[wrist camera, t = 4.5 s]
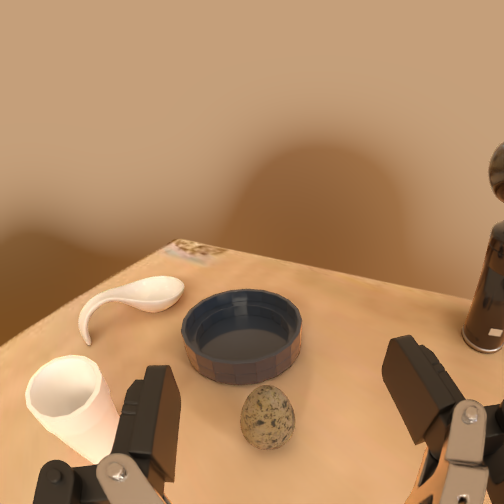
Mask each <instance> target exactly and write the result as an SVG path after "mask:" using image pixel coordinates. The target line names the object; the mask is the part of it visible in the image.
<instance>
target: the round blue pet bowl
mask: <svg viewBox="0 0 504 504" xmlns="http://www.w3.org/2000/svg"><path fill="white" fill-rule="evenodd" d="M181 333H182V337H183V340H184V344H185V348H186V351H187V354H188V357H189V360H190V363H191V364H192V365H193V366H194V367H195V368H196V370H197V371H198V372H199V373H200V374H201V375H204V376H206V377H208V378H210V379H212V380H214V381H216V382H220V383H226V384H232V385H244V384H254V383H259V382H262V381H265V380H268V379H271V378H273V377H276V376H278V375H279V374H280V373H282V372H283V371H285V370H286V369H287V368H289V367H290V366H291V365H292V363H293V362H294V360H295V359H296V357H297V356H298V355H299V352H300V346H301V335H302V319H301V316H300V313H299V310H298V308H297V307H296V306H295V305H294V304H293V303H292V302H291V301H290V300H288V299H286V298H284V297H282V296H281V295H279V294H276V293H272V292H268V291H264V290H255V289H240V290H230V291H226V292H222V293H219V294H215V295H213V296H211V297H208V298H206V299H204V300H202V301H200V302H199V303H198V304H197V305H195V306H194V307H193V308H191V309H190V311H189V312H188V313H187V315H186V316H185V318H184V319H183V323H182V329H181Z"/></svg>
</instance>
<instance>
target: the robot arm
mask: <svg viewBox="0 0 504 504" xmlns="http://www.w3.org/2000/svg"><path fill="white" fill-rule="evenodd" d="M488 178H489V183H490V186H491V189H492V191H493V193H494V194H495V196H496V197H497V198H498V199H499V200H500V201H502V202H503V203H504V142H503V143H501V144H500V145H498V146H497V147H496V149H495V150H494V152H493V154H492V156H491V159H490V162H489V167H488ZM462 336H463V338H464V340H465V341H466V343H467V344H468V345H469V346H471V347H472V348H473V349H475V350H477V351H480V352H483V353H495V352H497V351H499V350H500V349H501V348H502V346H503V344H504V220H503V221H500V222H497V223H496V224H494V225H493V227H492V230H491V234H490V239H489V243H488V248H487V252H486V256H485V260H484V265H483V268H482V272H481V275H480V279H479V282H478V286H477V289H476V292H475V295H474V298H473V301H472V304H471V307H470V310H469V313H468V316H467V318H466V321H465V323H464V325H463V328H462ZM382 377H383V380H384V383H385V385H386V386H387V388H388V390H389V392H390V394H391V396H392V398H393V400H394V402H395V404H396V406H397V408H398V410H399V412H400V414H401V416H402V419H403V421H404V423H405V425H406V427H407V429H408V431H409V433H410V435H411V437H412V439H413V442H414V444H415V445H417V444H420V443H422V442H426V444H427V447H426V449H425V452H424V456H423V459H422V463H421V466H420V469H419V472H418V476H417V479H416V482H415V485H414V487H413V490H412V492H411V494H410V495H409V497H408V498H407V500H406V501H405V503H404V504H483V501H484V497H485V492H486V489H487V492H488V494H489V497H490V500H491V502H492V504H504V400H503V401H502V403H501V404H497V405H491V406H484V407H483V406H482V405H481V404H480V403H479V402H477V401H475V400H470V399H467V400H466V399H465V398H464V396H463V395H462V393H461V392H460V390H459V389H458V387H457V386H456V384H455V383H454V382H453V380H452V379H451V377H450V376H449V374H448V373H447V371H445V369H444V367H443V366H442V364H441V363H439V360H438V359H437V357H436V356H435V354H434V353H433V352H432V351H431V350H429V349H428V348H426V347H425V346H423V345H418V344H417V342H416V341H415V340H414V338H413V337H412V336H411V335H405V336H401V337H397V338H393V339H391V340H390V342H389V345H388V348H387V352H386V355H385V359H384V362H383V365H382ZM180 411H181V397H180V392H179V389H178V387H177V384H176V381H175V379H174V376H173V373H172V370H171V368H170V366H169V365H152V366H148V367H147V369H146V373H145V377H144V380H135V381H134V382H133V384H132V385H131V386H130V387H129V389H128V390H127V393H126V397H125V400H124V405H123V408H122V411H121V412H122V414H121V415H120V419H119V423H118V427H117V431H116V435H115V439H114V443H113V447H112V451H111V453H110V454H109V455H107V456H105V457H104V458H103V459H101V461H100V462H99V463H98V464H96V465H91V466H83V467H73V468H71V467H70V466H69V465H68V464H67V463H65V462H64V461H61V460H52V461H49V462H47V463H46V464H45V465H44V466H43V467H42V468H41V470H40V473H39V478H38V482H37V486H36V491H35V495H34V500H33V504H172V502H171V501H170V500H169V499H168V497H167V496H166V495H165V493H164V482H174V477H175V464H176V452H177V441H178V430H179V420H180Z"/></svg>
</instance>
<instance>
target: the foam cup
mask: <svg viewBox="0 0 504 504" xmlns="http://www.w3.org/2000/svg"><path fill="white" fill-rule="evenodd" d="M110 392H111V391H110V389H109V387H108V385H107V383H106V380H105V378H104V376H103V375H102V373H101V371H100V369H99V367H98V365H97V363H95V362H93V361H92V360H90V359H89V358H87V357H86V356H77V355H67V356H63V357H59V358H55V359H53V360H52V361H50V362H48V363H46V364H45V365H43V366H41V367H40V368H39V369H38V371H37V372H36V373H35V374H34V375H33V376H32V377H31V379H30V381H29V383H28V386H27V389H26V392H25V396H26V404H27V408H28V409H29V410H30V411H31V412H32V414H33V415H34V416H35V417H36V418H37V420H38V421H39V422H40V423H41V424H42V425H43V426H44V427H45V429H46V430H47V431H48V432H51V433H53V434H54V435H56V436H57V437H58V438H59V439H61V440H62V441H63V442H64V443H66V444H67V445H68V446H70V447H71V448H72V449H74V450H75V451H76V452H78V453H79V454H80V455H82V456H83V457H85V458H86V459H87V460H89V461H90V462H92V463H93V464H95V465H96V464H98V463H99V462H100V461H101V459H103V458H104V457H105V456H107V455H109V454H110V453H111V451H112V447H113V443H114V439H115V435H116V431H117V427H118V423H119V419H120V417H119V415H118V413H117V410H116V408H115V406H114V403H113V401H112V398H111V396H110Z"/></svg>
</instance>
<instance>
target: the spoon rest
mask: <svg viewBox="0 0 504 504" xmlns="http://www.w3.org/2000/svg"><path fill="white" fill-rule="evenodd" d="M183 291H184V283H183V282H182V281H181V280H179V279H177V278H175V277H171V276H154V277H148V278H144V279H141V280H138V281H135V282H132V283H129V284H126V285H123V286H119V287H116V288H112V289H109V290H106V291H104V292H101V293H99V294H97V295H95V296H94V297H93V298H91V299H90V300H89V301H88V302H87V303H86V304H85V305H84V307H83V308H82V310H81V312H80V315H79V320H78V326H79V331H80V333H81V335H82V337H83V339H84V341H85V342H86V344H87V345H91V338H90V335H89V331H88V323H89V319H90V317H91V315H92V314H93V313H94V311H95V310H96V309H97V308H99V307H100V306H101V305H103V304H105V303H108V302H121V303H124V304H127V305H130V306H132V307H134V308H137V309H139V310H142V311H147V312H151V313H156V312H161V311H164V310H166V309H167V308H169V307H171V306H172V305H173V304H175V303H176V302H177V301H178V300H179V298H180V297H181V295H182V293H183Z"/></svg>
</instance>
